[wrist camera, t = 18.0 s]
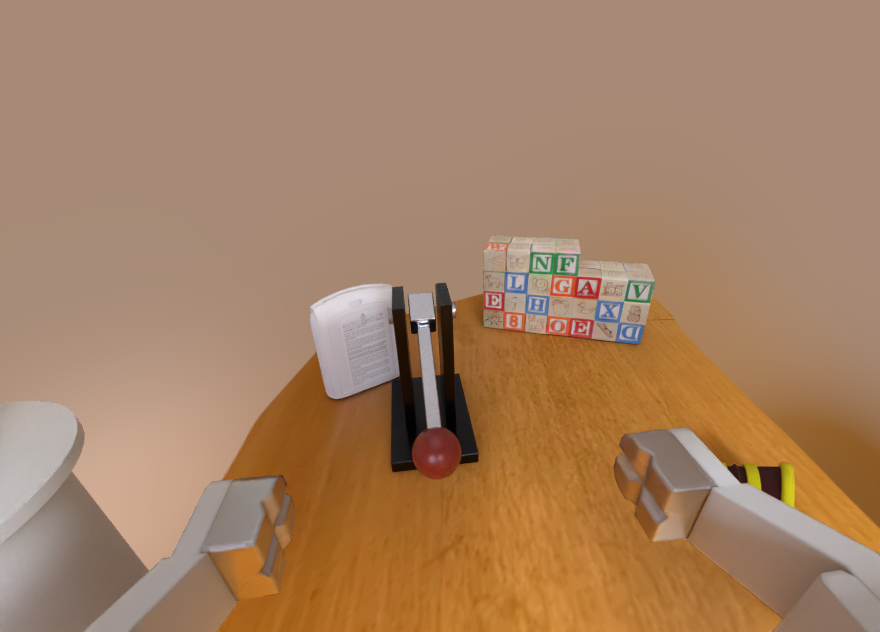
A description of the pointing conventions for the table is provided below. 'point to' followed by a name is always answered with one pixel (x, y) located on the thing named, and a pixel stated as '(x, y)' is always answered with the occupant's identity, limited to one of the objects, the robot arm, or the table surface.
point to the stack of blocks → (563, 290)
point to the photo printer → (355, 339)
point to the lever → (431, 398)
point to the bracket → (410, 390)
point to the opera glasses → (768, 479)
